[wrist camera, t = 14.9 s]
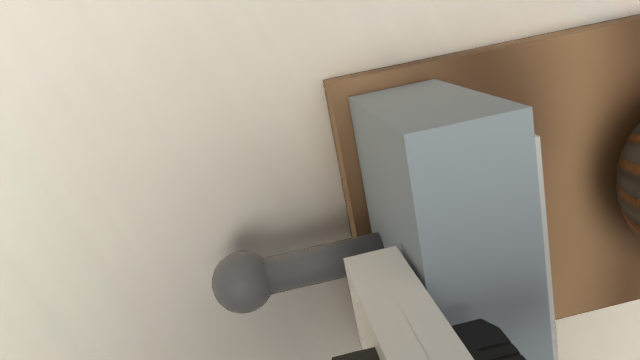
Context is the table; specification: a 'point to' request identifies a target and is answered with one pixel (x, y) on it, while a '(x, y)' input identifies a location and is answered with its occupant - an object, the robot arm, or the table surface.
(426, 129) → the jaw
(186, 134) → the table surface
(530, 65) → the vise base
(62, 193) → the table surface
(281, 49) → the table surface
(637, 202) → the vase
